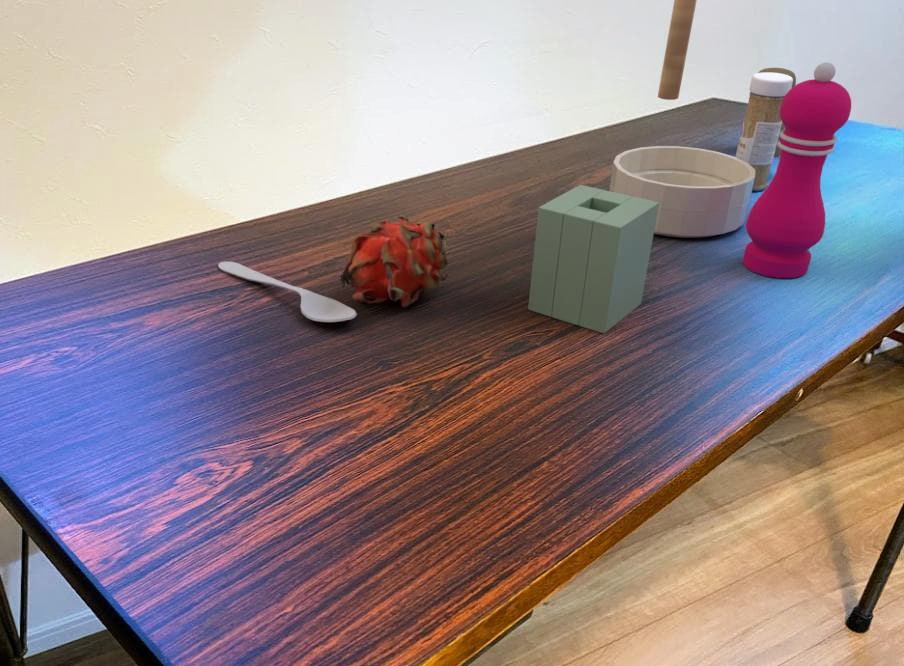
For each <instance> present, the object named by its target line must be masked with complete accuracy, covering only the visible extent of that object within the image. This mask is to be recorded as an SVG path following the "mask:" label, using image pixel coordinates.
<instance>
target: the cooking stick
mask: <svg viewBox="0 0 904 666" xmlns="http://www.w3.org/2000/svg"><path fill="white" fill-rule="evenodd" d="M696 6H697V0H674V1H673V6H672V11H671V16H670V17H671V18H670V21H669V22H670V23H669V29H668V33H667V40H666V46H665V50H664V56H663V63H662V69H661V75H660V81H659V86H658V90H657V98H659V99H661V100H666V101H667V100H668V101H672V100H673V101H674V100H678V99H679V97H680V91H681V87H682V81H683V76H684V70H685V65H686V60H687V53H688V48H689V43H690V38H691V32H692V28H693V22H694V16H695V12H696Z"/></svg>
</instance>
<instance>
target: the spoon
mask: <svg viewBox="0 0 904 666" xmlns="http://www.w3.org/2000/svg"><path fill="white" fill-rule="evenodd" d="M217 266H218V268H219V270H221V271H222V272H224V273H226V274H229V275H233V276H235V277H238V278H241V279H244V280H246V281H250V282H254V283H260V284H264V285H265V284H266V285H268V286H269V285H270V286H275V287H278V288H280V289H284V290H288V291H291V292H293V293H296V294H298V295H299V296H300V306H299V308H300V312H301V314H302V315H303V316H304V317H305V318H306V319H309V320H310V321H313V322H314V321H315V322H320V323H337V322H345V321H348V320H353V319H355V318H356V317H357V315H358V313H357V312H356V310H355V309H353V308H352V307H350V306H347V305H346V304H344V303H342V302H340V301H338V300H336V299H334V298H331V297H328V296H325V295H321V294H318V293H315V292H313V291H311V290H308V289H305V288H302V287H299V286H295V285H291V284H289V283H286V282H285V281H281V280H279V279H276V278H273V277H272V276H268V275H266V274H264V273H261V272H260V271H259V272H258V271H256V270H255V269H252V268H249V267H247V266H245V265H243V264H241V263H238V262H235V261H221V262H219V263H218V265H217Z"/></svg>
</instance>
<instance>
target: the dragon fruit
mask: <svg viewBox="0 0 904 666" xmlns="http://www.w3.org/2000/svg"><path fill="white" fill-rule="evenodd" d="M397 218H398V219H399V221H398V222H397V223H390V222H389V221H387V220H383V221H377V222H376V223H374V224H373V225H372V226H371V229H370V231H369V232H365V233H362V234H360V235H357V236H356V237H355V238H353V240H352V244H351V246H350V249H351V250H350V254H349V257H348V259H347V261H346V264H345V268H344V270H343V271H342V274H341V275H340V277H339V278H340V284H341V286H342V288H344V287H345V286H346V284H347V285H351V286H352V287H353V288H356V289H358V290H356V291H355V292H354V293H352V295H351V297H352V299H353V300H354V301H356V302H357V304H359V303H366V304H369V305H371V304H379V303H383V302H385V301H387V300H388V301H389V300H390V301H392V302H397V301H398V300H400V304H401V307H402V308H407V307H408V306H410V305H411V304H413V303H415V301H417V300H418V299H419V297H421V296H422V295H423V294H424V290H423V289H424V288H425V289H426V290H427V291H432V290H435V289H439V288H440V287H441V283H442V282H444V281H446V280H447V278H448V274H446V275H445V276H443V275H441V274H440V271H441V270H443V269H445V268H446V267H447V266H448V265H449V264H448V259H447V256H446V252H448V251H449V248H448V242H447V240H448V237H447V235H446V236H445V235H444V234H443V233H441V232H440V231H439V230H435V226H436V225H435V224H434V223H432V222H426V221H423V222H422V223H418V222H414V223H413V222H411V221H409V219H408V218H407V217H406V216H405V215H403V214H400V215H398V216H397Z"/></svg>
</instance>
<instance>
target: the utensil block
mask: <svg viewBox="0 0 904 666" xmlns="http://www.w3.org/2000/svg"><path fill="white" fill-rule="evenodd" d="M658 207H659V202H655V201H650V200H646V199H642V198H637V197H632V196H628V195H624V194H619V193H615V192H610V191H609V190H605V189H602V188H597V187H593V186H588V185H585V184H584V185H583V184H579V185H577V186H575V187H573V188H572V189H570V190H568V191H566V192H564V193H562V194H561V195H559V196H557V197H554V198H553V199H551V200H549V201H547V202H545V203H544V204H542V205H540V206H538V210H537V221H536V228H535V229H536V230H535V238H534V249H533V257H532V266H531V268H532V269H531V276H530V277H531V278H530V288H529V295H528V304H527V305H528V307H527V311H531V312H534V313H537V314H539V315H544V316H547V317H550V318H553V319H556V320H560V321H563V322H566V323H569V324H571V325H575V326H577V327H578V326H579V327H582V328H584V329H588V330H591V331H594V332H597V333H601V334H606V333H607V332H608V331H609V330H611V329H612V328H613V327H614V326H616V325H617V324H618V323H620V322H621V321H622V320H623V319H625V317H627V316H628V315H629V314H631V313H632V312H633V311H634V310H636V309H637V308H638V307H640V306H641V305H642V302H643V296H644V290H645V286H646V280H647V273H648V267H649V262H650V258H651V257H650V256H651V251H652V245H653V241H654V235H655V234H654V229H655V223H656V218H657V212H658Z"/></svg>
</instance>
